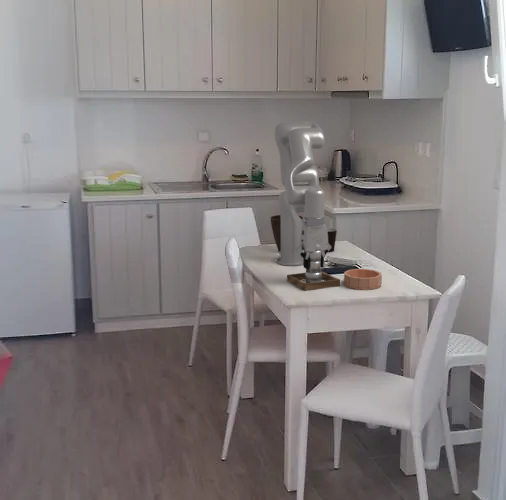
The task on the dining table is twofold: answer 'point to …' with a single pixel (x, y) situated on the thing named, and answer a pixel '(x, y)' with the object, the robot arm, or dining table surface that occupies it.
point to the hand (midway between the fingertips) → (313, 267)
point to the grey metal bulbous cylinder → (314, 266)
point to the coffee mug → (331, 238)
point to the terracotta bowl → (362, 279)
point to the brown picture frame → (329, 282)
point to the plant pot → (277, 229)
